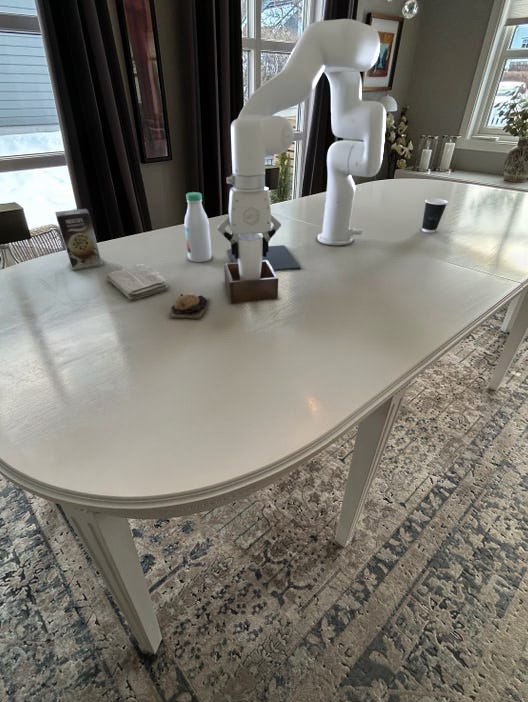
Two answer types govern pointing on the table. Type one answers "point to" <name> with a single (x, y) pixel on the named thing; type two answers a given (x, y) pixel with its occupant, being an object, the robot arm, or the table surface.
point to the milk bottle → (197, 229)
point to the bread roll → (189, 306)
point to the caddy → (251, 284)
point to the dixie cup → (433, 214)
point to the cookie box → (79, 238)
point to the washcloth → (137, 281)
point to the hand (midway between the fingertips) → (249, 255)
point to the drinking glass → (250, 256)
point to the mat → (276, 258)
